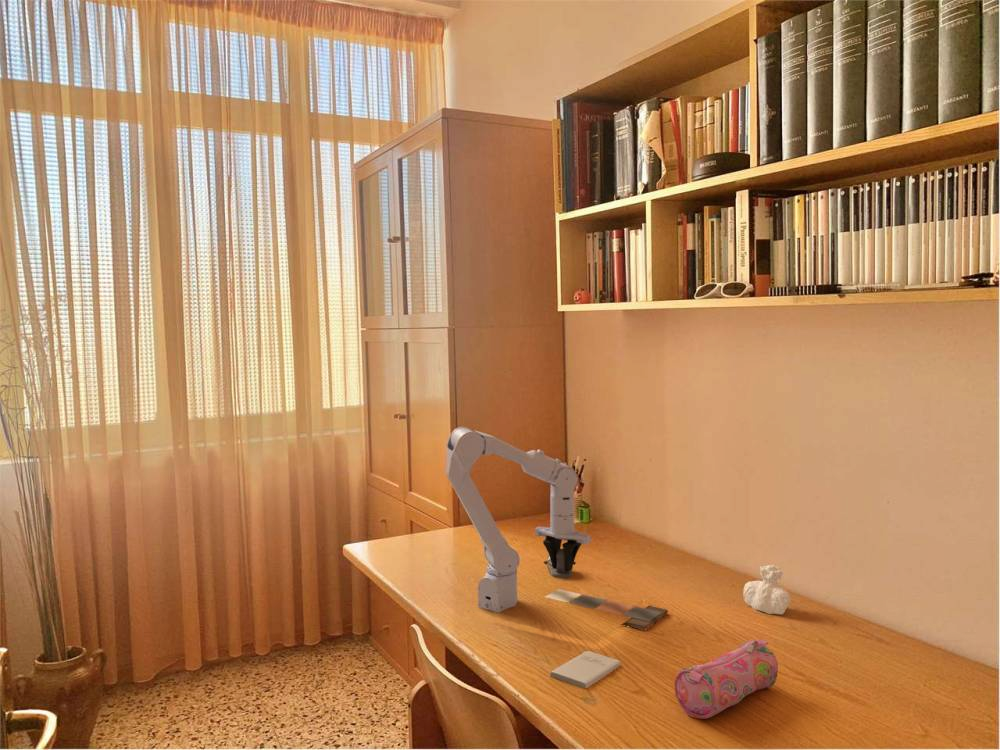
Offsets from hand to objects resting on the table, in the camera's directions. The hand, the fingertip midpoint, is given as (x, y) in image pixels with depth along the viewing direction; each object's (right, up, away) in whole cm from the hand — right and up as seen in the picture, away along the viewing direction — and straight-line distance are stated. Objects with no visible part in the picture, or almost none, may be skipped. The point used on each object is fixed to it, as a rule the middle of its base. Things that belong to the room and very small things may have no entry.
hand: (562, 569), depth 192 cm
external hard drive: (+2, -11, -38) cm, 39 cm away
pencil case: (+26, -12, -50) cm, 57 cm away
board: (+9, -8, -6) cm, 13 cm away
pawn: (0, -1, 0) cm, 1 cm away
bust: (+47, -8, -7) cm, 49 cm away
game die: (+1, -7, +17) cm, 19 cm away
